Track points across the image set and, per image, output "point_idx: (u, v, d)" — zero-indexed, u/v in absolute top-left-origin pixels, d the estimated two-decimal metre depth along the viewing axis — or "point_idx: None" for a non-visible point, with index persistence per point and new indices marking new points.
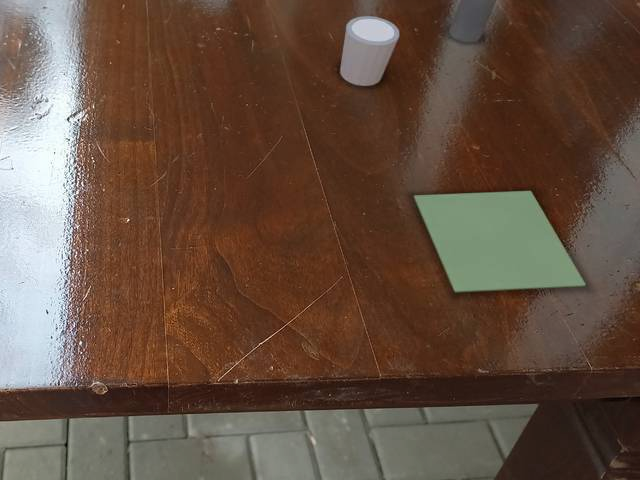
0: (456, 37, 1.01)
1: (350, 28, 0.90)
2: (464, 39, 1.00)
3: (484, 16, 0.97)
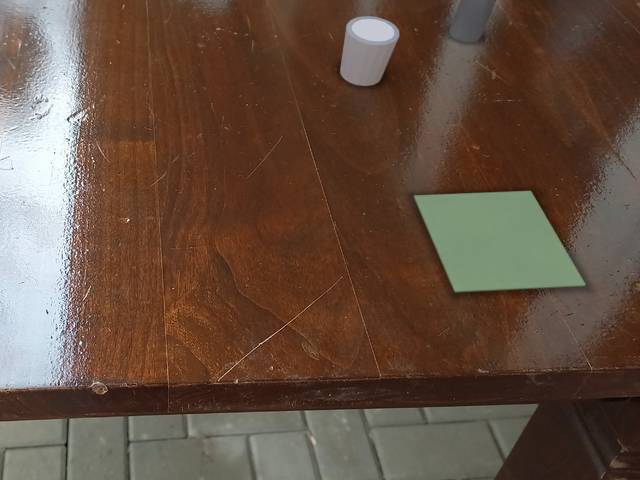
0: (456, 37, 1.01)
1: (350, 27, 0.90)
2: (464, 39, 1.00)
3: (484, 16, 0.97)
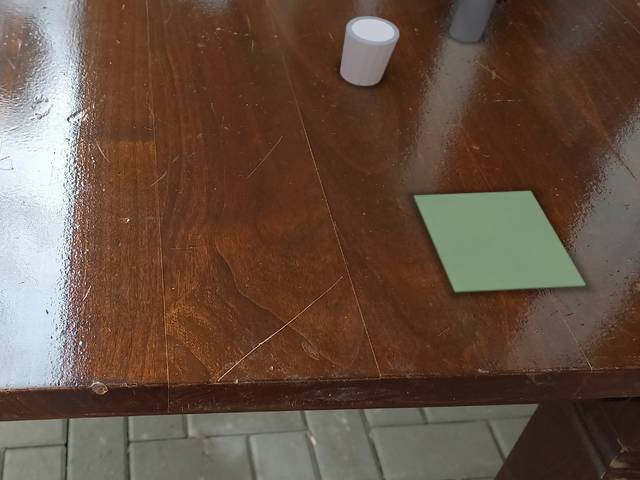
0: (456, 37, 1.01)
1: (350, 28, 0.90)
2: (464, 39, 1.00)
3: (484, 16, 0.97)
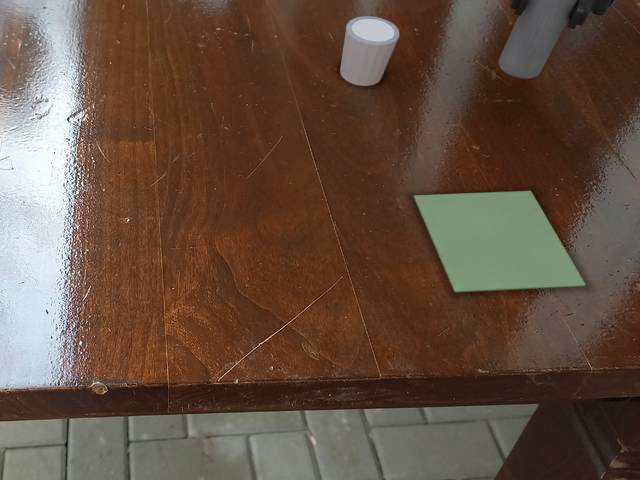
0: (509, 70, 0.76)
1: (350, 28, 0.90)
2: (520, 73, 0.75)
3: (549, 43, 0.72)
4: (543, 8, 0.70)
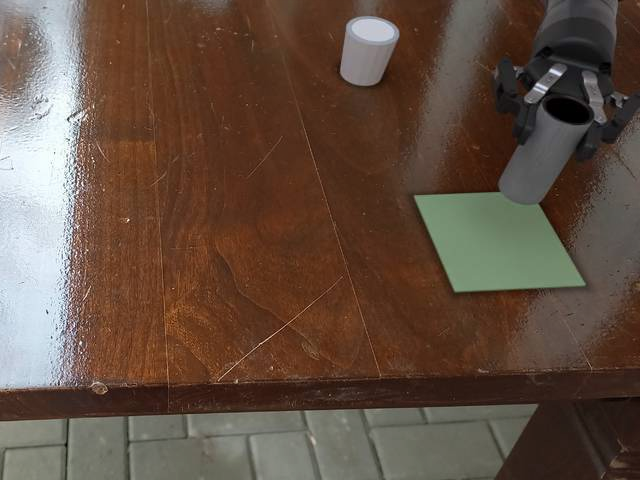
0: (510, 196, 0.69)
1: (350, 27, 0.90)
2: (522, 200, 0.69)
3: (554, 173, 0.66)
4: (548, 140, 0.63)
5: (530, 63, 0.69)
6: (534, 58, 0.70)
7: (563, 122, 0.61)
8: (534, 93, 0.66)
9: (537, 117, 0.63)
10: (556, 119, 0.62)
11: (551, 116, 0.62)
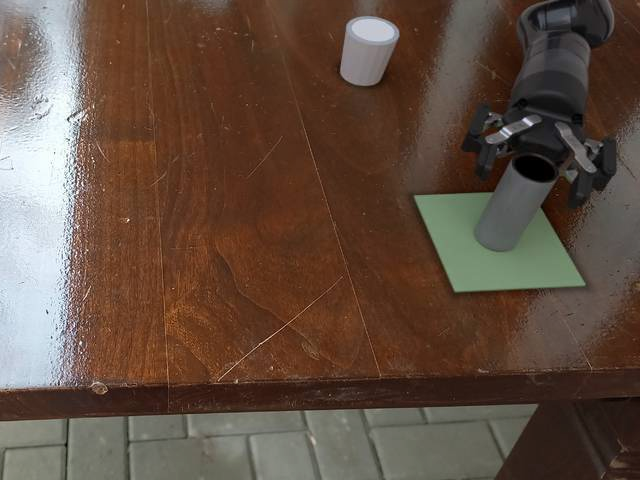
0: (484, 243, 0.75)
1: (350, 28, 0.90)
2: (495, 247, 0.74)
3: (524, 224, 0.71)
4: (517, 195, 0.69)
5: (507, 114, 0.74)
6: (511, 109, 0.74)
7: (530, 180, 0.67)
8: (498, 135, 0.71)
9: (507, 174, 0.69)
10: (523, 177, 0.67)
11: (519, 174, 0.67)
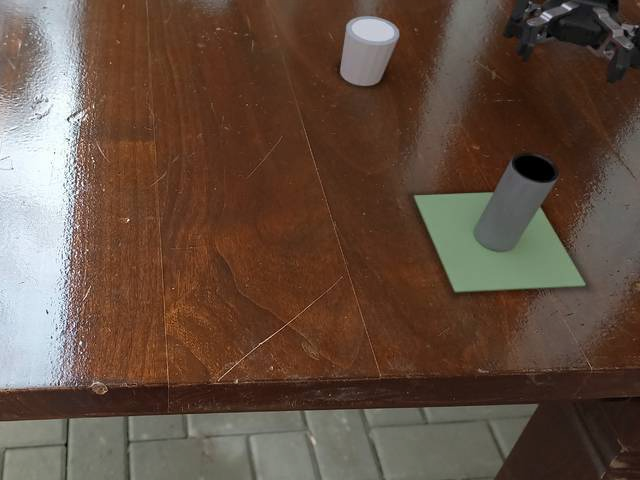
0: (484, 243, 0.75)
1: (350, 28, 0.90)
2: (495, 247, 0.74)
3: (524, 224, 0.71)
4: (517, 195, 0.69)
5: (546, 2, 0.78)
6: None
7: (530, 180, 0.67)
8: (538, 19, 0.75)
9: (507, 174, 0.69)
10: (523, 177, 0.67)
11: (519, 174, 0.67)
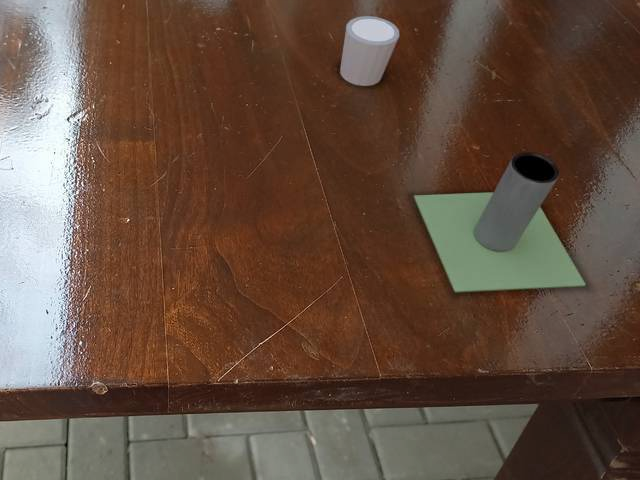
0: (484, 243, 0.75)
1: (350, 27, 0.90)
2: (495, 247, 0.74)
3: (524, 224, 0.71)
4: (517, 195, 0.69)
5: None
6: None
7: (530, 180, 0.67)
8: None
9: (507, 174, 0.69)
10: (523, 177, 0.67)
11: (519, 174, 0.67)
